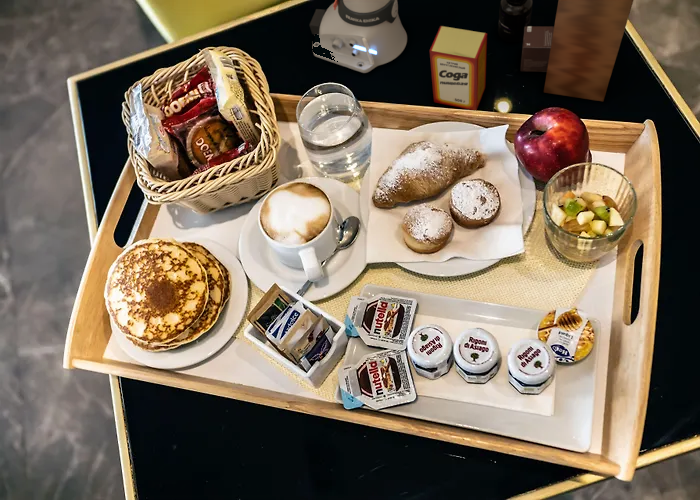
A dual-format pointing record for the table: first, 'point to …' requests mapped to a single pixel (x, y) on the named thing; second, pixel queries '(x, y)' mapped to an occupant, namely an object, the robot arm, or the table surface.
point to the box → (536, 48)
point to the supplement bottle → (514, 19)
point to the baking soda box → (458, 67)
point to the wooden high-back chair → (585, 46)
